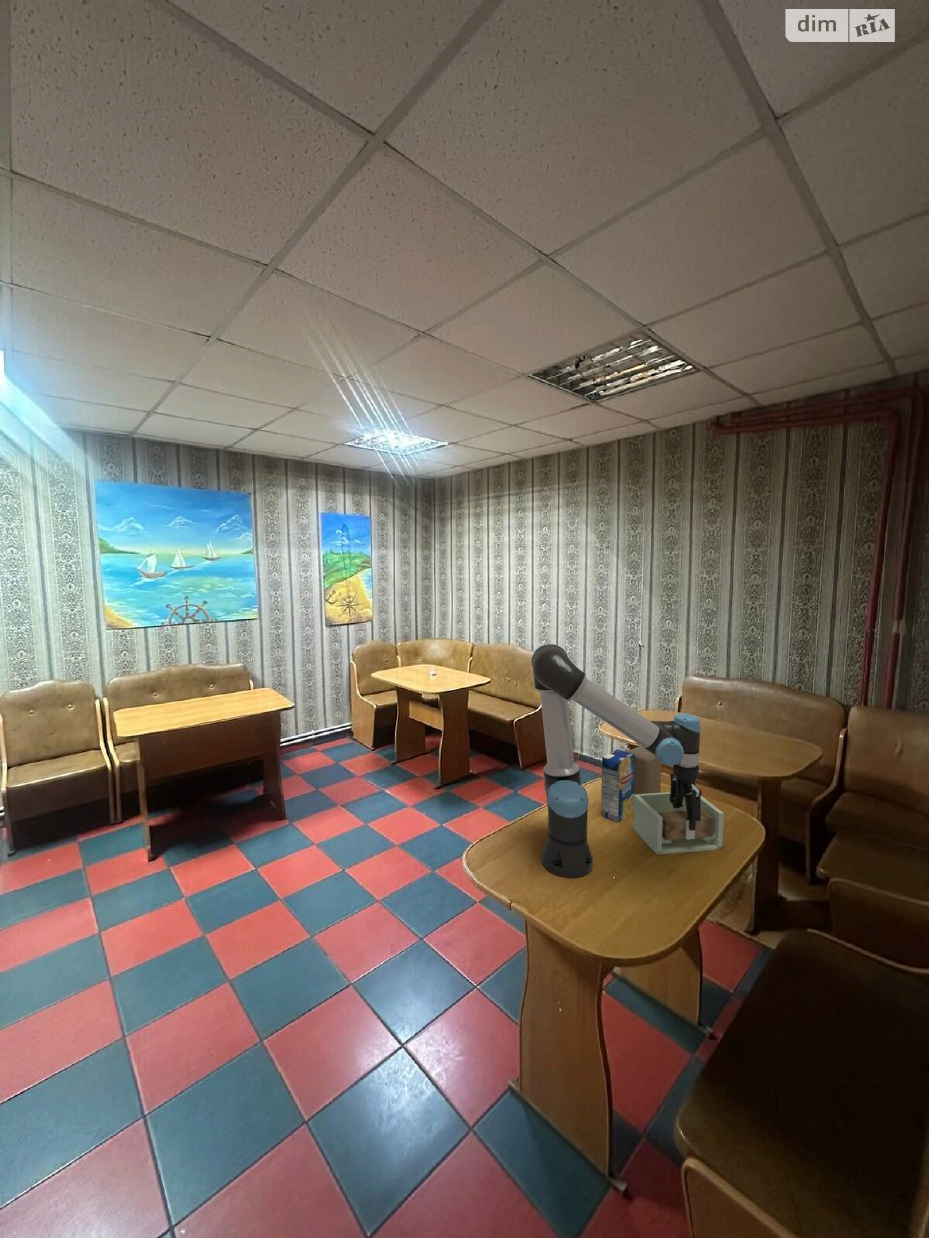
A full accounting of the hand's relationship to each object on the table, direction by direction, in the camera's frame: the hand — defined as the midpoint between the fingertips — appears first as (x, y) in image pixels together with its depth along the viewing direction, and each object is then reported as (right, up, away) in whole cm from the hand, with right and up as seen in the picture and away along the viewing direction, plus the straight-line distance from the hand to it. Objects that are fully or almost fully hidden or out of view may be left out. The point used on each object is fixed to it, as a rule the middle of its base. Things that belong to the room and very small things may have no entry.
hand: (683, 832), depth 159 cm
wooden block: (-3, -1, +29) cm, 29 cm away
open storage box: (-1, -4, +4) cm, 6 cm away
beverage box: (-15, -2, +21) cm, 26 cm away
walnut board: (0, 0, 0) cm, 0 cm away
